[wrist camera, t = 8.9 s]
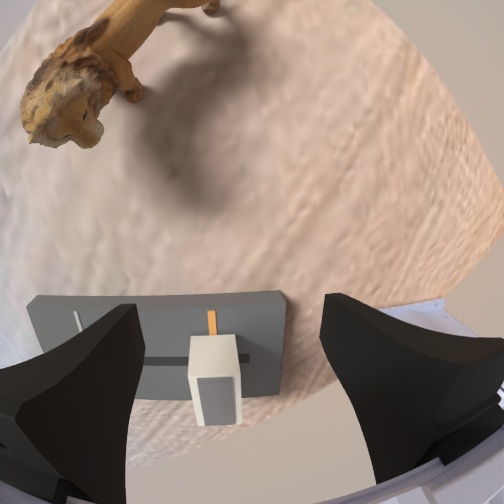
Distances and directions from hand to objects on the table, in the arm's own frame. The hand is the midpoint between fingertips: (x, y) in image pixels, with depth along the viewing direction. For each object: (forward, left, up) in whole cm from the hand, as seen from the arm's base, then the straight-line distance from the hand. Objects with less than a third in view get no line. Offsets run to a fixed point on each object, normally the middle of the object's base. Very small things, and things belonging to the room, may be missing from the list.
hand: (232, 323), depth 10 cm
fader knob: (+1, +8, -7) cm, 11 cm away
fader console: (+6, +8, -9) cm, 14 cm away
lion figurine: (+5, -13, -10) cm, 17 cm away
